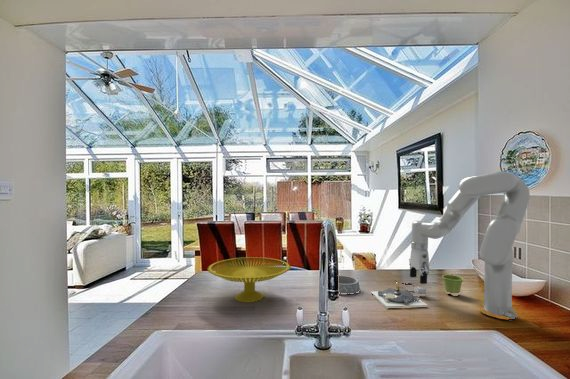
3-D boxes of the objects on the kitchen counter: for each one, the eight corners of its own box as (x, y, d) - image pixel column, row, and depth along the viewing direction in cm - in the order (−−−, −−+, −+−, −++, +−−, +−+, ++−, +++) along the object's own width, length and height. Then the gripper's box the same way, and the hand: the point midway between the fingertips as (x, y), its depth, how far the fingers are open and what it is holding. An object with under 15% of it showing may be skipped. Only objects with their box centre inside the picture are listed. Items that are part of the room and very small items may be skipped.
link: (425, 297, 147) (425, 288, 147) (417, 297, 147) (418, 289, 147) (421, 294, 151) (421, 286, 151) (413, 294, 151) (413, 286, 151)
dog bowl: (340, 282, 171) (340, 272, 171) (367, 291, 157) (367, 280, 157) (318, 288, 161) (318, 278, 161) (345, 298, 146) (345, 287, 146)
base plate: (427, 307, 134) (427, 305, 134) (386, 308, 132) (386, 306, 132) (407, 293, 153) (407, 290, 153) (370, 293, 151) (370, 291, 151)
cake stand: (234, 322, 118) (234, 284, 118) (192, 294, 149) (193, 264, 149) (308, 299, 144) (308, 267, 144) (260, 279, 175) (260, 253, 175)
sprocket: (416, 293, 148) (416, 282, 148) (419, 306, 132) (419, 293, 132) (378, 289, 154) (378, 278, 154) (377, 300, 138) (377, 288, 138)
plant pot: (457, 291, 155) (457, 275, 155) (467, 298, 146) (467, 280, 146) (438, 291, 156) (438, 274, 156) (446, 297, 147) (446, 279, 147)
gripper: (436, 250, 141) (435, 286, 142) (417, 242, 158) (416, 274, 159) (421, 249, 141) (420, 286, 141) (403, 242, 158) (402, 274, 158)
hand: (418, 280), depth 150 cm, fingers open, 9 cm apart
